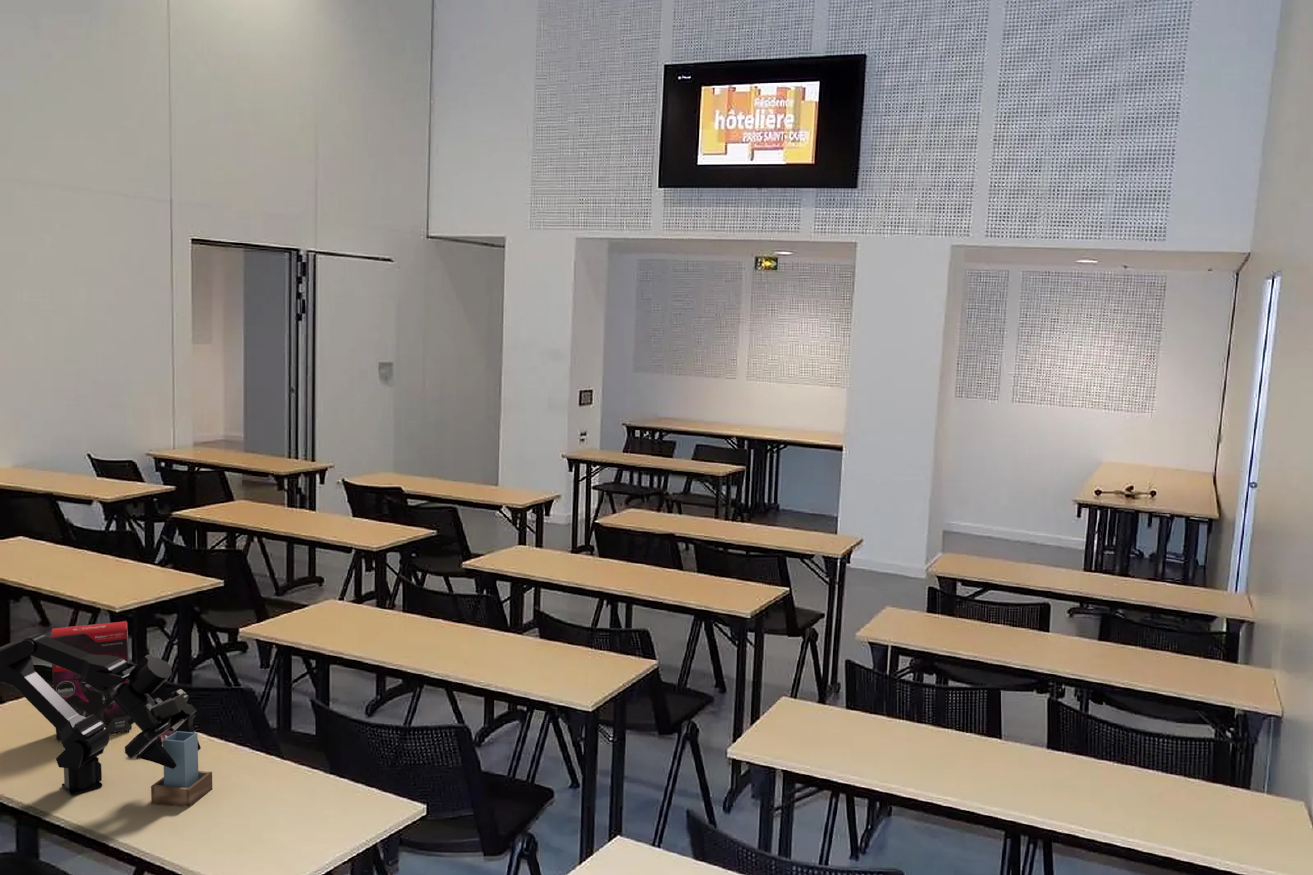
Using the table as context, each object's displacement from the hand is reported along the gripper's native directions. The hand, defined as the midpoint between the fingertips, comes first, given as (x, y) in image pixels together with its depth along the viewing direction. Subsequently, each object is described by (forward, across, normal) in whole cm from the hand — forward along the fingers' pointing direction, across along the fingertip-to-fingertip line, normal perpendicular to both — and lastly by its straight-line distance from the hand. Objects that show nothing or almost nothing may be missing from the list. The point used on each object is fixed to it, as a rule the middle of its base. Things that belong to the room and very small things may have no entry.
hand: (187, 758), depth 229 cm
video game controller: (-9, +24, +22) cm, 33 cm away
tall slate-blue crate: (+5, 0, +7) cm, 8 cm away
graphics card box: (-24, +28, +37) cm, 52 cm away
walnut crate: (+5, 0, +7) cm, 9 cm away
